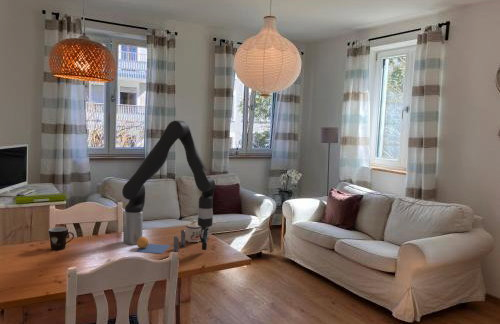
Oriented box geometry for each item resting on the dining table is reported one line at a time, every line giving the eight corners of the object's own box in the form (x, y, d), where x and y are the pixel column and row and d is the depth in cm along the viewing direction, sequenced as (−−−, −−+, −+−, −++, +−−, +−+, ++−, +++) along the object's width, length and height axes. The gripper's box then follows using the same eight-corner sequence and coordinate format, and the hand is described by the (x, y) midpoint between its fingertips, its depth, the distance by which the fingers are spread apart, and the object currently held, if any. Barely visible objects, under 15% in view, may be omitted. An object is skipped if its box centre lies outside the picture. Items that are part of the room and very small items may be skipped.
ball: (132, 241, 205) (142, 236, 204) (137, 238, 211) (146, 233, 210) (138, 251, 205) (148, 246, 204) (142, 248, 211) (152, 243, 210)
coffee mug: (44, 249, 200) (44, 229, 199) (60, 245, 207) (60, 226, 206) (60, 253, 194) (60, 233, 193) (75, 249, 202) (75, 229, 201)
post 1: (172, 254, 199) (173, 237, 198) (174, 253, 201) (174, 236, 201) (177, 255, 199) (177, 237, 198) (178, 253, 201) (179, 236, 200)
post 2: (180, 247, 212) (180, 230, 211) (181, 246, 214) (181, 229, 213) (184, 247, 212) (184, 231, 211) (185, 246, 214) (186, 229, 213)
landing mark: (135, 251, 202) (135, 251, 202) (145, 243, 216) (145, 243, 216) (161, 253, 200) (161, 253, 200) (170, 245, 214) (170, 245, 214)
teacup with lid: (190, 244, 219) (191, 223, 218) (183, 239, 226) (183, 219, 225) (209, 241, 226) (210, 220, 225) (201, 237, 233) (202, 217, 232)
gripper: (201, 213, 210) (200, 245, 212) (194, 218, 197) (193, 253, 199) (215, 214, 210) (214, 246, 211) (209, 219, 197) (208, 254, 198)
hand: (204, 249), depth 205 cm, fingers closed
